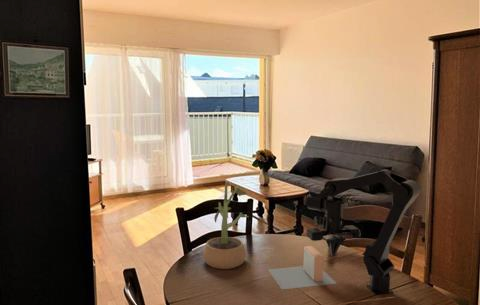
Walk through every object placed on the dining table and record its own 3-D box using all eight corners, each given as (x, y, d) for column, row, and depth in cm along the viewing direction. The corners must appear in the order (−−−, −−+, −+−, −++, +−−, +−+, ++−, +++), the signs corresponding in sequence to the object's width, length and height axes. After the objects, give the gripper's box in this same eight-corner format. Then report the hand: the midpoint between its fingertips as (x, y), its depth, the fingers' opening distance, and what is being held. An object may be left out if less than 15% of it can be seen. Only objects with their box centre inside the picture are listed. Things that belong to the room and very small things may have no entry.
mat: (336, 284, 135) (336, 283, 135) (281, 290, 131) (281, 289, 131) (317, 265, 151) (317, 264, 151) (267, 270, 146) (267, 269, 146)
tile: (322, 280, 137) (323, 256, 136) (313, 281, 137) (314, 256, 135) (310, 268, 147) (311, 245, 146) (302, 269, 146) (303, 246, 145)
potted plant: (248, 271, 145) (249, 192, 141) (200, 270, 146) (199, 191, 142) (249, 248, 168) (250, 179, 164) (207, 247, 168) (207, 179, 164)
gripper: (346, 206, 151) (345, 245, 153) (301, 209, 146) (300, 249, 148) (362, 214, 140) (360, 256, 142) (313, 217, 136) (312, 261, 138)
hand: (332, 255), depth 143 cm, fingers closed
